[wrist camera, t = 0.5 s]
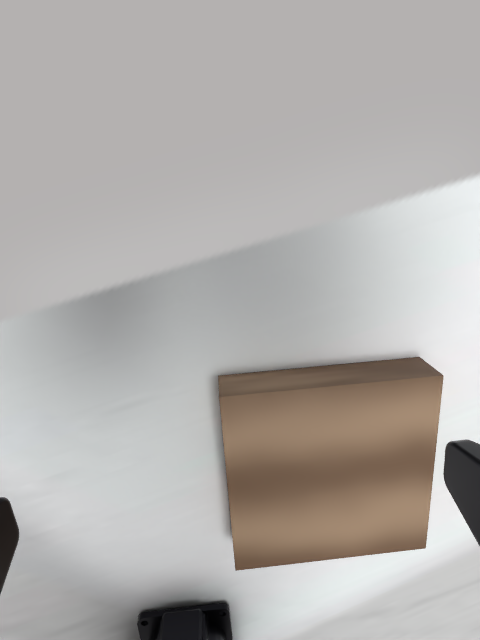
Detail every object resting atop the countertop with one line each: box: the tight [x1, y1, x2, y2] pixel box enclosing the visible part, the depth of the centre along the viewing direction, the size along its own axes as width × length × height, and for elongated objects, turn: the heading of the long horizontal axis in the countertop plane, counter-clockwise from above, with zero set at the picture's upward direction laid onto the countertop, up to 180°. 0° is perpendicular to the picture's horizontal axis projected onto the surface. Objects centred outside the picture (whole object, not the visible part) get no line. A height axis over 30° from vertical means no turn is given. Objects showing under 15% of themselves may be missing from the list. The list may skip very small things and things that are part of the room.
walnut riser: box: [218, 357, 443, 570], centre depth 24 cm, size 12×12×3 cm
